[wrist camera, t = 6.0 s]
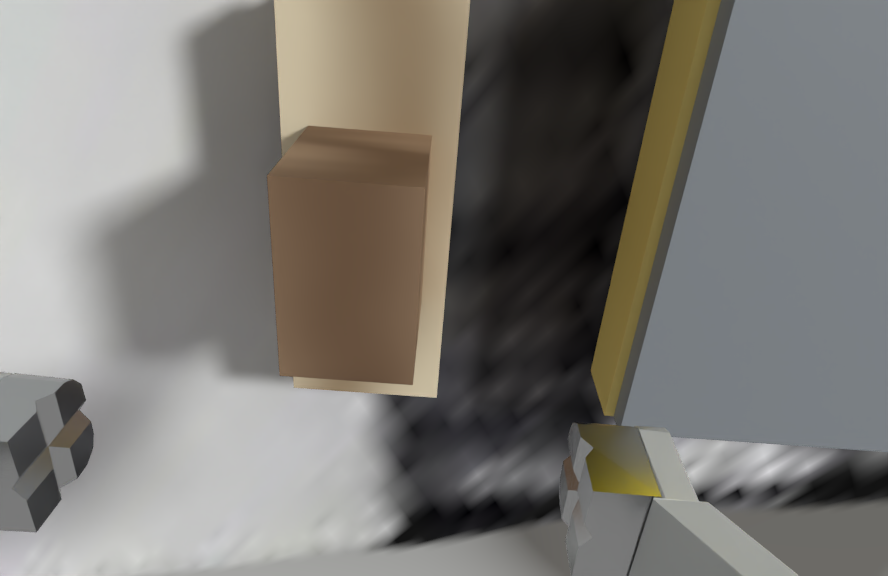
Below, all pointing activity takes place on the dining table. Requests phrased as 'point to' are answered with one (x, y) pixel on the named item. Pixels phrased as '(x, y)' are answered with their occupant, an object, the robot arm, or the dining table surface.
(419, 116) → the tan stepped block
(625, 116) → the dining table surface
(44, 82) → the dining table surface
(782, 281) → the dock
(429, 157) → the brown box
